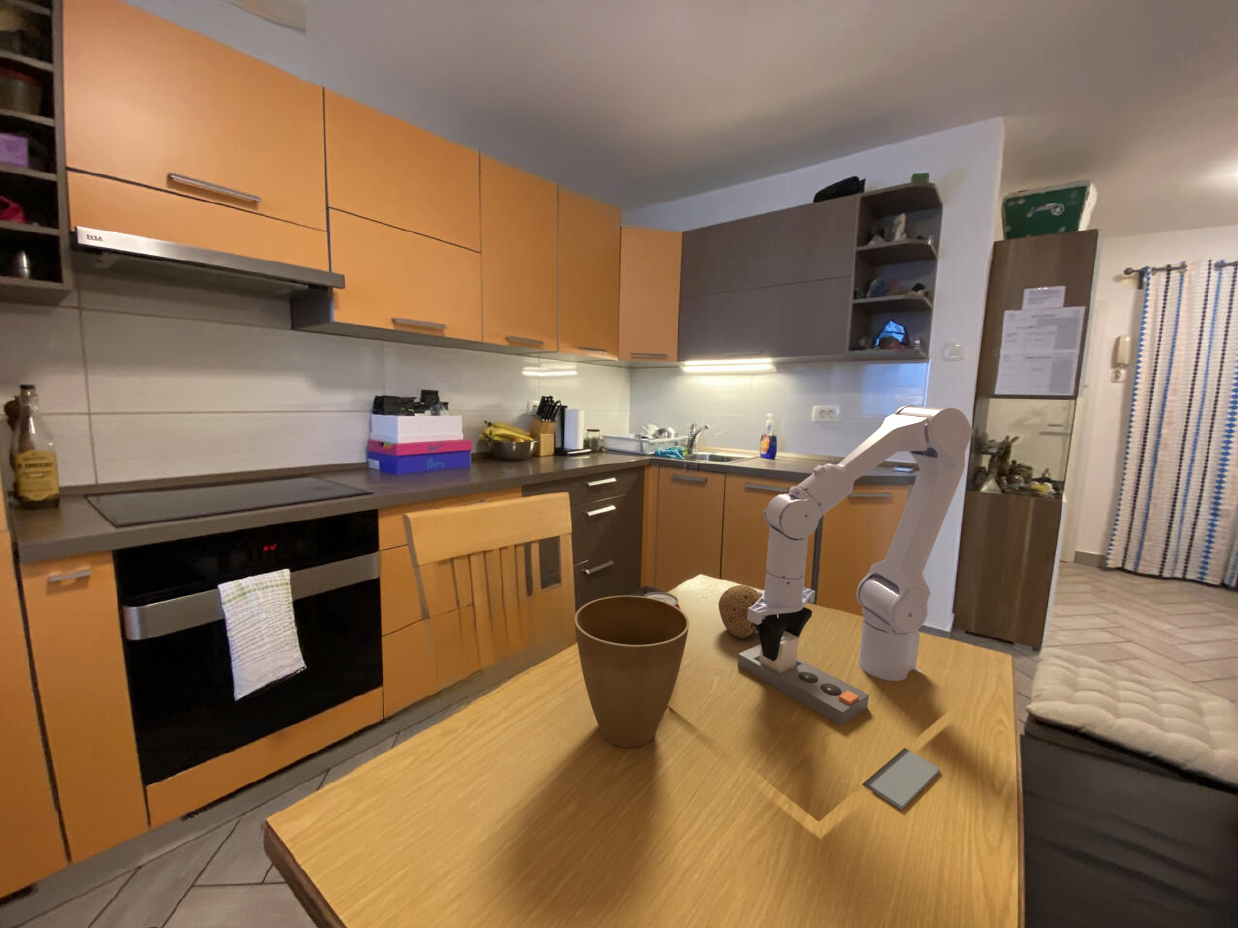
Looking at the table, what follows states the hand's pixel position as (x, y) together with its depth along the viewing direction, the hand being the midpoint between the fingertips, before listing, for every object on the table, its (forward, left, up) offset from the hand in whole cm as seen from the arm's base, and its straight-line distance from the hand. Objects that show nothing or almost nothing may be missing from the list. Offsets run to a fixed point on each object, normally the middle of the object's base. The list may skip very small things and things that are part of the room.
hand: (778, 653), depth 80 cm
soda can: (+14, -13, -4) cm, 20 cm away
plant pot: (+27, -4, -4) cm, 28 cm away
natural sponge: (-6, -12, -4) cm, 14 cm away
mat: (+5, +19, -4) cm, 20 cm away
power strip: (0, +4, -4) cm, 6 cm away
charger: (0, 0, -3) cm, 3 cm away
